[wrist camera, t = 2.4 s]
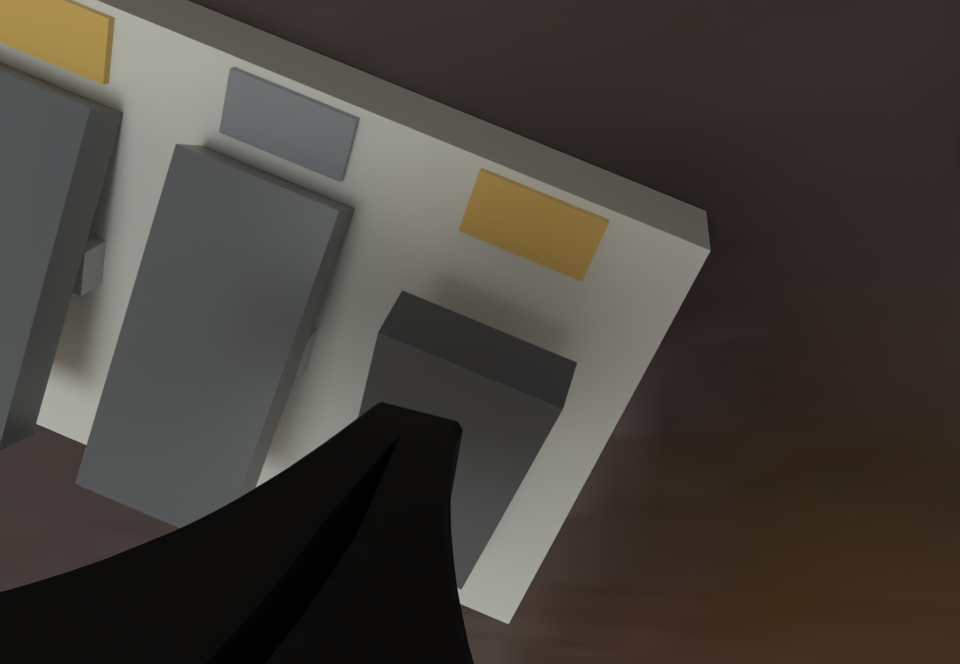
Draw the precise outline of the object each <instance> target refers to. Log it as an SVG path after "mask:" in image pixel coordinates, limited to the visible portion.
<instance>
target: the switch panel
mask: <svg viewBox="0 0 960 664" xmlns="http://www.w3.org/2000/svg"><path fill="white" fill-rule="evenodd" d="M0 62H1V63H3V64H5V65H8V66H10V67H13V68H15V69H18V70H20V71H22V72H25V73H27V74H30V75H32V76H35V77H37V78H39V79H42V80H44V81H47V82H49V83H52V84H54V85H56V86H59V87H61V88H64V89H66V90H69V91H71V92H73V93H76V94H78V95H81V96H83V97H86V98H88V99H90V100H93V101H95V102H98V103H100V104H103V105H105V106H107V107H110V108H112V109H115V110H117V111H120V112H122V113H123V114H122V117H121V121H120V125H119V128H118V132H117V135H116V139H115V143H114V146H113V150H112V153H111V157H110V160H109V164H108V168H107V171H106V175H105V178H104V182H103V186H102V189H101V193H100V196H99V200H98V204H97V207H96V211H95V214H94V218H93V221H92V225H91V229H90V232H89V236H88V239H87V243H86V247H85V250H84V254H83V257H82V261H81V265H80V268H79V272H78V275H77V279H76V282H75V286H74V290H73V293H72V297H71V300H70V304H69V308H68V311H67V315H66V318H65V322H64V325H63V329H62V333H61V336H60V340H59V343H58V347H57V351H56V354H55V358H54V361H53V365H52V369H51V372H50V376H49V379H48V383H47V386H46V390H45V394H44V397H43V401H42V404H41V408H40V412H39V415H38V419H37V422H36V424H38V425H41V426H43V427H45V428H48V429H50V430H52V431H55V432H57V433H59V434H62V435H64V436H66V437H69V438H71V439H73V440H76V441H78V442H81V443H83V444H85V445H87V442H88V438H89V435H90V432H91V428H92V425H93V421H94V418H95V415H96V411H97V408H98V405H99V401H100V398H101V394H102V391H103V388H104V384H105V381H106V378H107V374H108V371H109V368H110V364H111V361H112V357H113V354H114V351H115V347H116V344H117V341H118V337H119V334H120V330H121V327H122V324H123V320H124V317H125V314H126V310H127V307H128V303H129V300H130V297H131V293H132V290H133V287H134V283H135V280H136V276H137V273H138V270H139V266H140V263H141V260H142V256H143V253H144V250H145V246H146V243H147V239H148V236H149V233H150V229H151V226H152V223H153V219H154V216H155V212H156V209H157V206H158V202H159V199H160V196H161V192H162V189H163V185H164V182H165V179H166V175H167V172H168V169H169V165H170V162H171V159H172V155H173V152H174V148H175V145H176V144H187V145H201V146H205V147H207V148H209V149H212V150H214V151H217V152H219V153H222V154H224V155H226V156H229V157H231V158H234V159H236V160H239V161H241V162H243V163H246V164H248V165H251V166H253V167H256V168H258V169H260V170H263V171H265V172H268V173H270V174H273V175H275V176H277V177H280V178H282V179H285V180H287V181H290V182H292V183H294V184H297V185H299V186H302V187H304V188H307V189H309V190H311V191H314V192H316V193H319V194H321V195H324V196H326V197H328V198H331V199H333V200H336V201H338V202H341V203H343V204H345V205H348V206H350V207H353V208H355V209H354V212H353V215H352V218H351V221H350V223H349V226H348V229H347V232H346V235H345V237H344V240H343V243H342V246H341V249H340V251H339V254H338V257H337V260H336V263H335V266H334V268H333V271H332V274H331V277H330V280H329V282H328V285H327V288H326V291H325V294H324V297H323V299H322V302H321V305H320V308H319V311H318V313H317V316H316V319H315V322H314V325H313V327H312V330H311V333H310V336H309V339H308V342H307V344H306V347H305V350H304V353H303V356H302V358H301V361H300V364H299V367H298V370H297V372H296V375H295V378H294V381H293V384H292V387H291V389H290V392H289V395H288V398H287V401H286V403H285V406H284V409H283V412H282V415H281V418H280V420H279V423H278V426H277V429H276V432H275V434H274V437H273V440H272V443H271V446H270V448H269V451H268V454H267V457H266V460H265V463H264V465H263V468H262V471H261V474H260V477H259V479H258V482H257V485H256V487H258V486H259V485H261V484H263V483H264V482H266V481H267V480H269V479H271V478H272V477H274V476H276V475H277V474H279V473H281V472H282V471H284V470H285V469H287V468H288V467H290V466H291V465H293V464H294V463H296V462H297V461H299V460H300V459H301V458H303V457H304V456H306V455H307V454H309V453H310V452H312V451H313V450H315V449H316V448H317V447H319V446H320V445H322V444H323V443H325V442H326V441H327V440H329V439H330V438H331V437H333V436H334V435H336V434H337V433H338V432H340V431H341V430H342V429H344V428H345V427H346V426H348V425H349V424H350V423H352V422H353V421H354V420H356V419H357V418H358V415H359V411H360V407H361V403H362V398H363V394H364V390H365V386H366V381H367V377H368V373H369V369H370V364H371V360H372V356H373V352H374V347H375V343H376V339H377V335H378V331H379V330H380V328H381V326H382V324H383V323H384V321H385V319H386V318H387V316H388V314H389V312H390V311H391V309H392V307H393V305H394V304H395V302H396V300H397V298H398V297H399V295H400V293H401V291H402V290H403V291H405V292H408V293H410V294H413V295H415V296H418V297H420V298H422V299H425V300H427V301H430V302H432V303H434V304H437V305H439V306H442V307H444V308H447V309H449V310H451V311H454V312H456V313H459V314H461V315H463V316H466V317H468V318H471V319H473V320H476V321H478V322H480V323H483V324H485V325H488V326H490V327H492V328H495V329H497V330H500V331H502V332H504V333H507V334H509V335H512V336H514V337H517V338H519V339H521V340H524V341H526V342H529V343H531V344H533V345H536V346H538V347H541V348H543V349H546V350H548V351H550V352H553V353H555V354H558V355H560V356H562V357H565V358H567V359H570V360H572V361H575V362H577V365H576V368H575V372H574V375H573V378H572V381H571V385H570V388H569V391H568V394H567V398H566V401H565V404H564V408H563V410H562V412H561V414H560V415H559V417H558V419H557V421H556V422H555V424H554V426H553V428H552V430H551V431H550V433H549V435H548V437H547V438H546V440H545V442H544V444H543V446H542V447H541V449H540V451H539V453H538V454H537V456H536V458H535V460H534V462H533V463H532V465H531V467H530V469H529V470H528V472H527V474H526V476H525V478H524V479H523V481H522V483H521V485H520V486H519V488H518V490H517V492H516V494H515V495H514V497H513V499H512V501H511V503H510V504H509V506H508V508H507V510H506V511H505V513H504V515H503V517H502V519H501V520H500V522H499V524H498V526H497V527H496V529H495V531H494V533H493V535H492V536H491V538H490V540H489V542H488V543H487V545H486V547H485V549H484V551H483V552H482V554H481V556H480V558H479V559H478V561H477V563H476V565H475V567H474V568H473V570H472V572H471V574H470V575H469V577H468V579H467V581H466V583H465V584H464V586H463V588H462V590H461V589H459V588H458V594H459V600H460V604H462V605H464V606H467V607H469V608H472V609H474V610H476V611H479V612H481V613H483V614H486V615H488V616H490V617H493V618H495V619H497V620H500V621H502V622H504V623H507V624H509V622H510V621H511V619H512V617H513V615H514V613H515V611H516V609H517V608H518V606H519V604H520V602H521V600H522V598H523V597H524V595H525V593H526V591H527V589H528V587H529V585H530V584H531V582H532V580H533V578H534V576H535V574H536V572H537V571H538V569H539V567H540V565H541V563H542V561H543V560H544V558H545V556H546V554H547V552H548V550H549V548H550V547H551V545H552V543H553V541H554V539H555V537H556V535H557V534H558V532H559V530H560V528H561V526H562V524H563V523H564V521H565V519H566V517H567V515H568V513H569V511H570V510H571V508H572V506H573V504H574V502H575V500H576V499H577V497H578V495H579V493H580V491H581V489H582V487H583V486H584V484H585V482H586V480H587V478H588V476H589V474H590V473H591V471H592V469H593V467H594V465H595V463H596V462H597V460H598V458H599V456H600V454H601V452H602V450H603V449H604V447H605V445H606V443H607V441H608V439H609V437H610V436H611V434H612V432H613V430H614V428H615V426H616V425H617V423H618V421H619V419H620V417H621V415H622V413H623V412H624V410H625V408H626V406H627V404H628V402H629V400H630V399H631V397H632V395H633V393H634V391H635V389H636V388H637V386H638V384H639V382H640V380H641V378H642V376H643V375H644V373H645V371H646V369H647V367H648V365H649V363H650V362H651V360H652V358H653V356H654V354H655V352H656V351H657V349H658V347H659V345H660V343H661V341H662V339H663V338H664V336H665V334H666V332H667V330H668V328H669V327H670V325H671V323H672V321H673V319H674V317H675V315H676V314H677V312H678V310H679V308H680V306H681V304H682V302H683V301H684V299H685V297H686V295H687V293H688V291H689V290H690V288H691V286H692V284H693V282H694V280H695V278H696V277H697V275H698V273H699V271H700V269H701V267H702V265H703V264H704V262H705V260H706V258H707V256H708V254H709V253H710V251H711V250H710V241H709V232H708V223H707V214H706V211H705V210H702V209H700V208H698V207H695V206H693V205H690V204H688V203H685V202H683V201H680V200H678V199H675V198H673V197H671V196H668V195H666V194H663V193H661V192H658V191H656V190H653V189H651V188H648V187H646V186H643V185H641V184H639V183H636V182H634V181H631V180H629V179H626V178H624V177H621V176H619V175H616V174H614V173H611V172H609V171H607V170H604V169H602V168H599V167H597V166H594V165H592V164H589V163H587V162H584V161H582V160H580V159H577V158H575V157H572V156H570V155H567V154H565V153H562V152H560V151H557V150H555V149H552V148H550V147H548V146H545V145H543V144H540V143H538V142H535V141H533V140H530V139H528V138H525V137H523V136H521V135H518V134H516V133H513V132H511V131H508V130H506V129H503V128H501V127H498V126H496V125H493V124H491V123H489V122H486V121H484V120H481V119H479V118H476V117H474V116H471V115H469V114H466V113H464V112H461V111H459V110H457V109H454V108H452V107H449V106H447V105H444V104H442V103H439V102H437V101H434V100H432V99H430V98H427V97H425V96H422V95H420V94H417V93H415V92H412V91H410V90H407V89H405V88H402V87H400V86H398V85H395V84H393V83H390V82H388V81H385V80H383V79H380V78H378V77H375V76H373V75H370V74H368V73H366V72H363V71H361V70H358V69H356V68H353V67H351V66H348V65H346V64H343V63H341V62H339V61H336V60H334V59H331V58H329V57H326V56H324V55H321V54H319V53H316V52H314V51H311V50H309V49H307V48H304V47H302V46H299V45H297V44H294V43H292V42H289V41H287V40H284V39H282V38H280V37H277V36H275V35H272V34H270V33H267V32H265V31H262V30H260V29H257V28H255V27H252V26H250V25H248V24H245V23H243V22H240V21H238V20H235V19H233V18H230V17H228V16H225V15H223V14H220V13H218V12H216V11H213V10H211V9H208V8H206V7H203V6H201V5H198V4H196V3H193V2H191V1H189V0H0Z"/></svg>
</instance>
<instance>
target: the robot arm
mask: <svg viewBox="0 0 960 664" xmlns="http://www.w3.org/2000/svg"><path fill="white" fill-rule="evenodd" d="M462 432H463V429H462V427H461V426H460V424H459V423H458V422H457V421H455V420H451V419H447V418H443V417H439V416H435V415H431V414H428V413H424V412H420V411H416V410H412V409H408V408H404V407H400V406H396V405H392V404H388V403H384V402H380V403H378V404H376V405H374V406H373V407H371V408H370V409H369V410H367V411H366V412H365V413H363V414H362V415H361V416H360V417H358V418H357V419H356V420H354V421H353V422H352V423H350V424H349V425H348V426H346V427H345V428H344V429H342V430H341V431H340V432H338V433H337V434H336V435H334V436H333V437H331V438H330V439H329V440H327V441H326V442H325V443H323V444H322V445H320V446H319V447H317V448H316V449H315V450H313V451H312V452H310V453H309V454H307V455H306V456H304V457H303V458H301V459H300V460H299V461H297V462H296V463H294V464H293V465H291V466H290V467H288V468H287V469H285V470H284V471H282V472H281V473H279V474H277V475H276V476H274V477H272V478H271V479H269V480H267V481H266V482H264V483H263V484H261V485H259V486H258V487H256V488H254V489H253V490H251V491H249V492H248V493H246V494H244V495H243V496H241V497H239V498H238V499H236V500H234V501H232V502H230V503H229V504H227V505H225V506H223V507H221V508H220V509H218V510H216V511H214V512H212V513H210V514H208V515H206V516H204V517H202V518H200V519H198V520H196V521H194V522H192V523H190V524H188V525H186V526H184V527H182V528H180V529H178V530H175V531H173V532H171V533H169V534H166V535H164V536H161V537H159V538H156V539H154V540H151V541H149V542H146V543H144V544H142V545H139V546H137V547H134V548H132V549H129V550H127V551H124V552H122V553H119V554H117V555H115V556H112V557H110V558H107V559H104V560H101V561H99V562H96V563H93V564H90V565H87V566H84V567H81V568H78V569H75V570H72V571H70V572H67V573H63V574H60V575H57V576H54V577H51V578H47V579H44V580H41V581H38V582H35V583H31V584H28V585H24V586H21V587H17V588H14V589H10V590H7V591H3V592H0V664H474V663H473V659H472V655H471V652H470V648H469V644H468V640H467V635H466V630H465V626H464V621H463V616H462V611H461V606H460V600H459V594H458V588H457V581H456V574H455V566H454V557H453V546H452V533H451V495H452V490H453V484H454V478H455V472H456V467H457V461H458V455H459V449H460V443H461V438H462Z"/></svg>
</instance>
